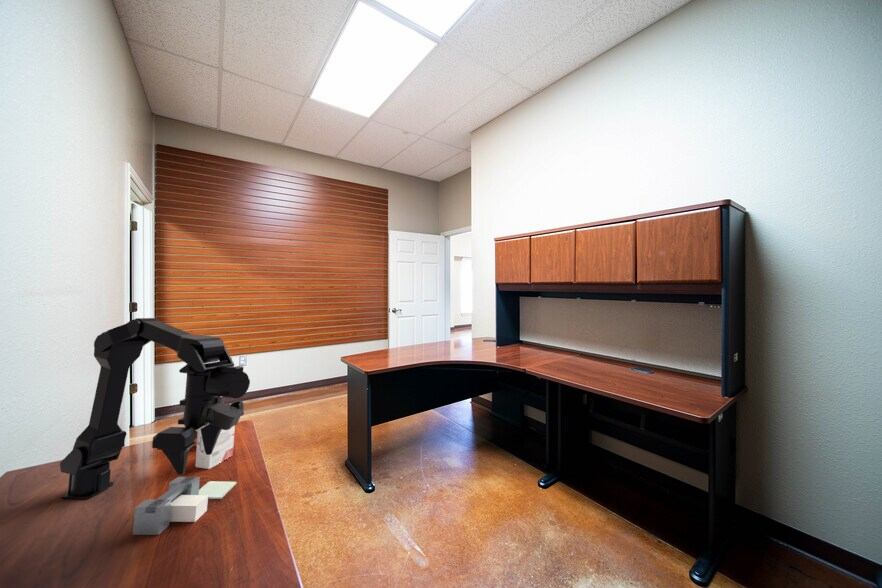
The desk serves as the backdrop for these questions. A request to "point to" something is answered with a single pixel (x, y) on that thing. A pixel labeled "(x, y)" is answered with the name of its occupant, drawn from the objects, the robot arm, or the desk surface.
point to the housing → (162, 507)
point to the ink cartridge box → (215, 449)
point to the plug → (188, 508)
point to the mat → (216, 489)
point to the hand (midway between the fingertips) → (195, 463)
